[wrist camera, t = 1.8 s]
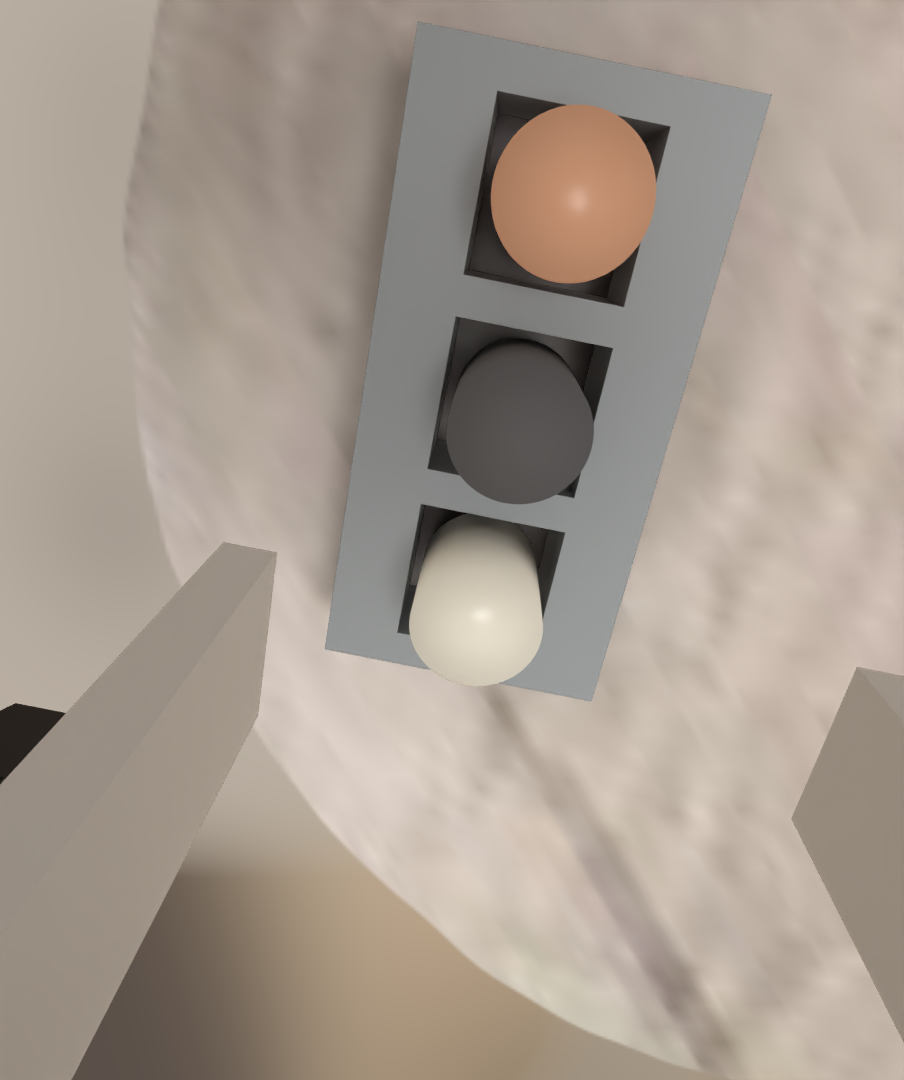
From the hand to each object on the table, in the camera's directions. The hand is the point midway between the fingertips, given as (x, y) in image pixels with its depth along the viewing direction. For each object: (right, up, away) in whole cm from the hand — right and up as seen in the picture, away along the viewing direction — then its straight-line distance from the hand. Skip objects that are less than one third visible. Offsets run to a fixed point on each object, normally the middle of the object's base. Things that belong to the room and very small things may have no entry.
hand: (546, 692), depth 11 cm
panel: (+1, +9, +24) cm, 25 cm away
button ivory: (0, +1, +24) cm, 24 cm away
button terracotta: (+3, +15, +18) cm, 24 cm away
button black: (+1, +8, +21) cm, 22 cm away
